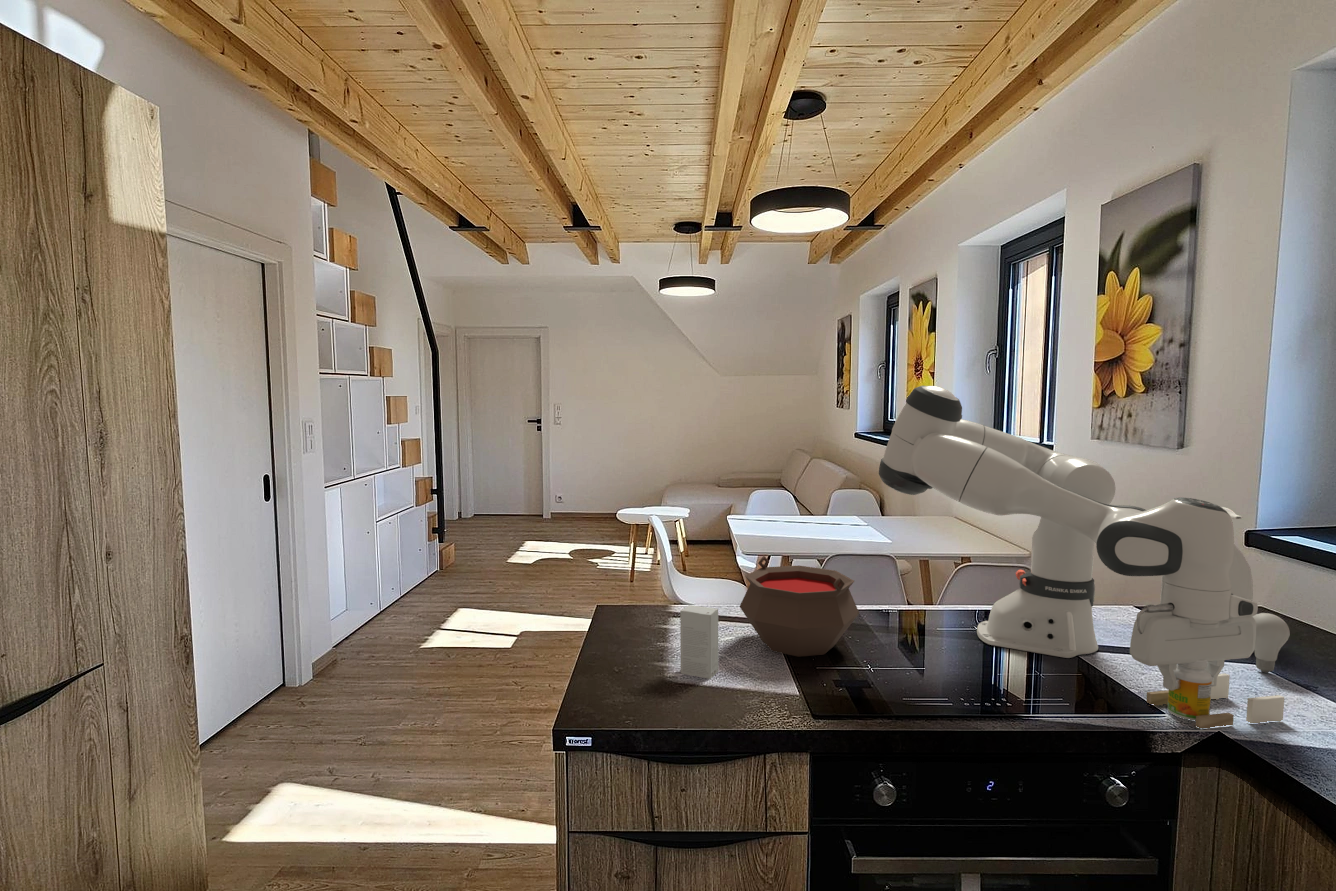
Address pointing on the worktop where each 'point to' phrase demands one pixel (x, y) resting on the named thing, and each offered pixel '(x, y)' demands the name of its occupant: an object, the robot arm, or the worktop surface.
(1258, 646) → the lightbulb
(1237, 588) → the soap bottle
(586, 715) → the worktop surface
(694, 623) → the skincare box
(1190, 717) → the supplement bottle
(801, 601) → the brown pot
